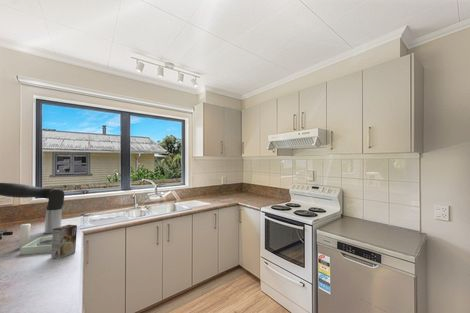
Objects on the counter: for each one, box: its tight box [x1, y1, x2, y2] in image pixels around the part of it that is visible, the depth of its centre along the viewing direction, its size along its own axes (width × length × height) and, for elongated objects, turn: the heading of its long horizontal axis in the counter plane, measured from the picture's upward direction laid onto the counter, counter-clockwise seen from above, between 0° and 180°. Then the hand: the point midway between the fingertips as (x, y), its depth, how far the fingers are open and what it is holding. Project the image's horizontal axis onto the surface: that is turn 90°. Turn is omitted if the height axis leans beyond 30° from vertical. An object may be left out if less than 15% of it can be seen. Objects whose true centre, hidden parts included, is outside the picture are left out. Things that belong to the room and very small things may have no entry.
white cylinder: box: [18, 223, 32, 250], centre depth 125 cm, size 4×4×14 cm
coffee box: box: [50, 224, 78, 260], centre depth 116 cm, size 9×6×16 cm
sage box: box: [19, 235, 53, 255], centre depth 126 cm, size 18×16×4 cm
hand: (7, 235), depth 122 cm, fingers open, 8 cm apart
